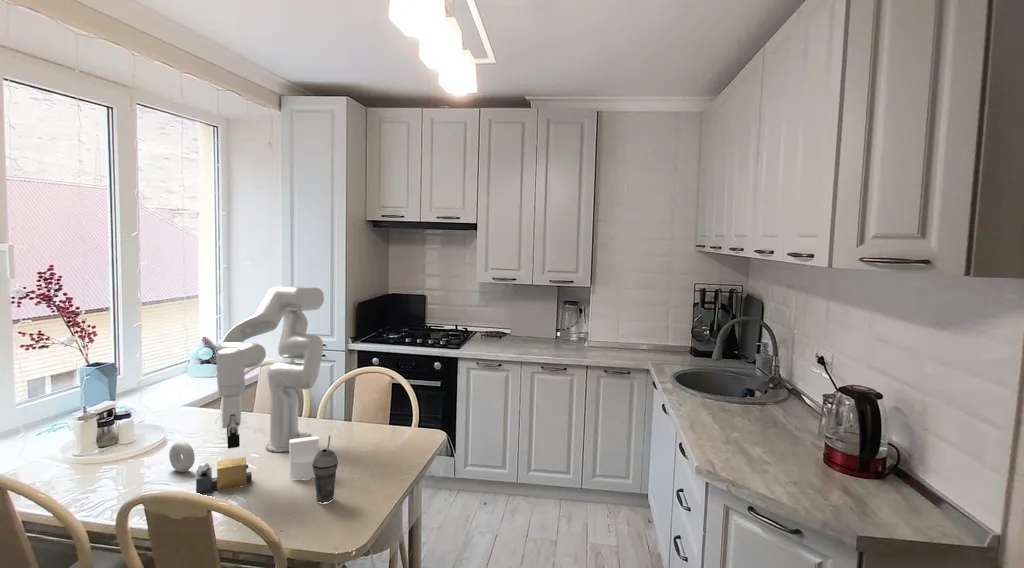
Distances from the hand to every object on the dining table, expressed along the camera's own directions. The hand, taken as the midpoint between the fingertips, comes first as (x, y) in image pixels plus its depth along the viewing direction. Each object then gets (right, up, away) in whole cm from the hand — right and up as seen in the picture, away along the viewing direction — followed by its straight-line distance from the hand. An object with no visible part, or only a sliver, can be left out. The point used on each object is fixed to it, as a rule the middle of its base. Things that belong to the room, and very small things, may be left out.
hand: (233, 441), depth 166 cm
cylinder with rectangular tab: (+19, -14, +9) cm, 25 cm away
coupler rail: (-2, -14, -1) cm, 14 cm away
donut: (-21, -12, +8) cm, 26 cm away
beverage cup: (+32, -16, -8) cm, 36 cm away
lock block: (-1, -14, 0) cm, 14 cm away
